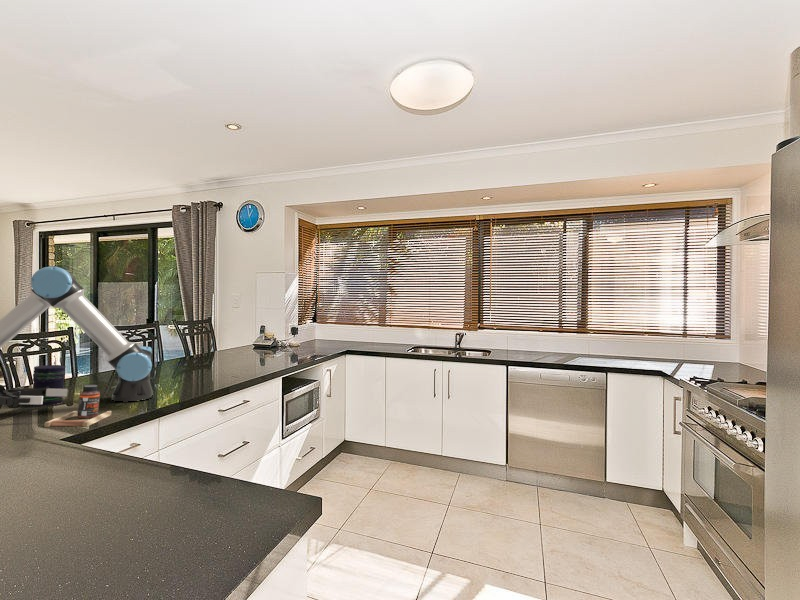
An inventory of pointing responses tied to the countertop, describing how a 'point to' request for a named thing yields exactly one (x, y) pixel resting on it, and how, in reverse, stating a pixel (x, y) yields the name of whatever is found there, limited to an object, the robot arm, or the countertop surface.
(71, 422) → the guide channel
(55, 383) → the storage jar
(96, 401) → the supplement bottle
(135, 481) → the countertop surface
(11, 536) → the countertop surface
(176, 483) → the countertop surface
